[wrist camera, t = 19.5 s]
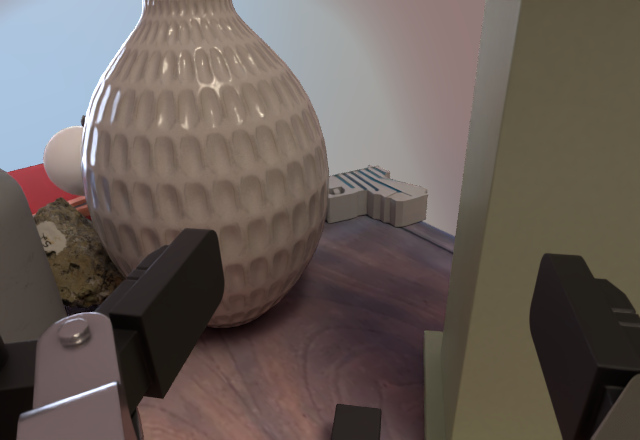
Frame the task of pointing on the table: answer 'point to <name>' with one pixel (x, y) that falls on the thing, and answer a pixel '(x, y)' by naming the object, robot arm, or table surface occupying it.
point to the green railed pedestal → (535, 204)
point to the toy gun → (375, 197)
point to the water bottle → (24, 270)
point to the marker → (356, 423)
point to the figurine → (65, 160)
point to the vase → (206, 152)
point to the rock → (76, 255)
